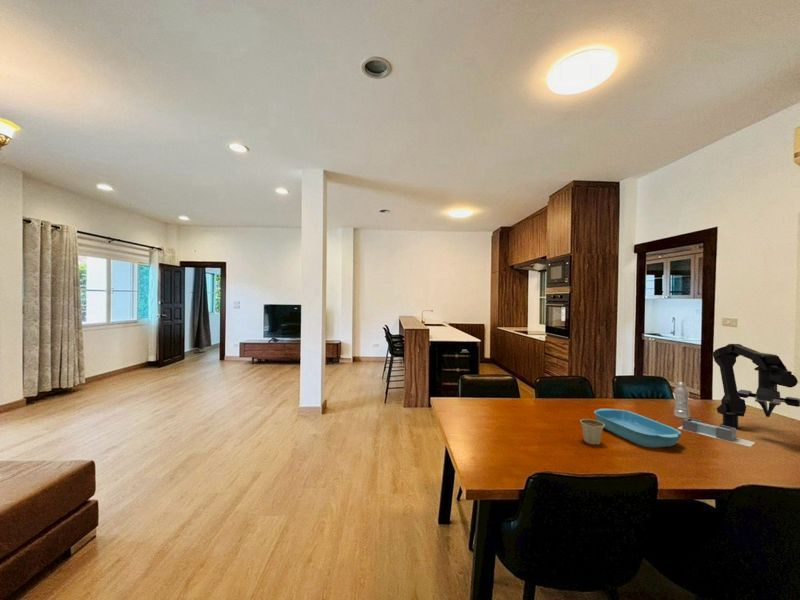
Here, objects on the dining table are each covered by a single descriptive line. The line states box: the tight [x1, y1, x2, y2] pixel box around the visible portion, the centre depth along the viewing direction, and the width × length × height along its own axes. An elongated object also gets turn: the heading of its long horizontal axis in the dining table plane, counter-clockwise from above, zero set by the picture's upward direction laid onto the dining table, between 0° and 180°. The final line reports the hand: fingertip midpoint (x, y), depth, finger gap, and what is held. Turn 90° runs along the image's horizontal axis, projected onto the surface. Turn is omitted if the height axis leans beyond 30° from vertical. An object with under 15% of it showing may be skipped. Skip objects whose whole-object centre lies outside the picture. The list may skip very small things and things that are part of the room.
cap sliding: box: [715, 425, 737, 442], centre depth 150 cm, size 7×5×4 cm
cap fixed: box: [681, 417, 702, 434], centre depth 160 cm, size 7×5×4 cm
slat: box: [691, 421, 730, 436], centre depth 155 cm, size 4×14×4 cm, turn 33°
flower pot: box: [579, 418, 605, 445], centre depth 145 cm, size 9×9×9 cm
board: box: [677, 425, 756, 448], centre depth 153 cm, size 9×25×1 cm, turn 34°
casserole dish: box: [593, 408, 682, 448], centre depth 154 cm, size 37×22×7 cm, turn 10°
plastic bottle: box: [673, 380, 691, 420], centre depth 179 cm, size 6×7×20 cm
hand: (767, 416), depth 147 cm, fingers closed
